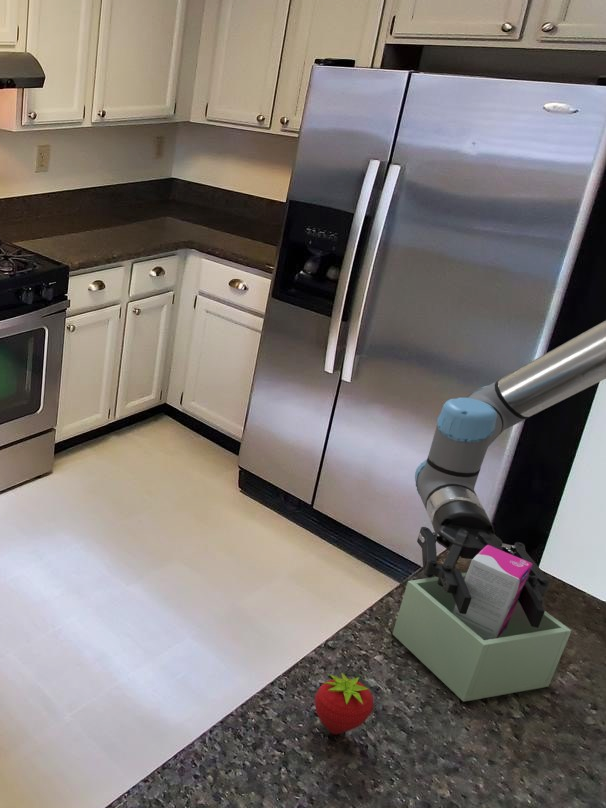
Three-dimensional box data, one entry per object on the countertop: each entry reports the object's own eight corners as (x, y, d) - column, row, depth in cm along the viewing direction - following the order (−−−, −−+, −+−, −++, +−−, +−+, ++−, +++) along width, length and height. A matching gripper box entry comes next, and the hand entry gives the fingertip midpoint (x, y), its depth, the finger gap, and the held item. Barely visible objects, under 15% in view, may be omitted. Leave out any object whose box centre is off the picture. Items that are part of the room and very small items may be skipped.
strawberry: (375, 740, 101) (394, 680, 97) (332, 760, 98) (349, 700, 94) (337, 707, 106) (353, 649, 101) (295, 726, 103) (310, 667, 99)
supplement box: (493, 648, 108) (518, 579, 103) (446, 625, 112) (468, 558, 107) (508, 629, 111) (534, 562, 106) (462, 608, 115) (484, 542, 110)
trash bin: (470, 621, 121) (488, 569, 117) (548, 686, 109) (572, 630, 105) (392, 634, 119) (407, 580, 114) (463, 702, 106) (483, 645, 102)
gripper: (527, 552, 123) (583, 651, 103) (381, 529, 129) (407, 618, 109) (543, 511, 120) (603, 605, 100) (392, 489, 126) (421, 573, 106)
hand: (501, 612), depth 104 cm, fingers closed on supplement box, 8 cm apart
